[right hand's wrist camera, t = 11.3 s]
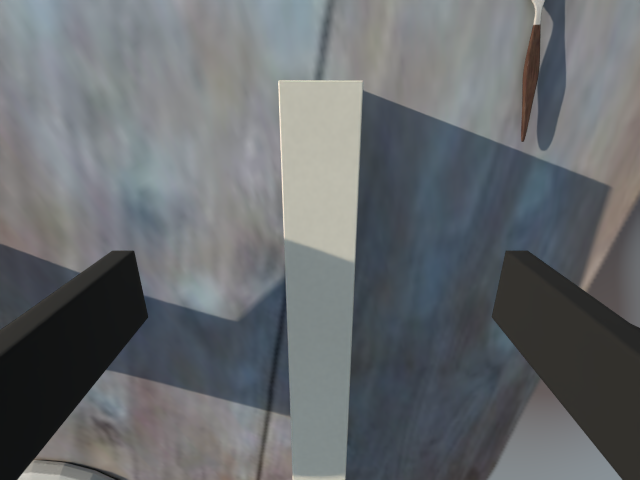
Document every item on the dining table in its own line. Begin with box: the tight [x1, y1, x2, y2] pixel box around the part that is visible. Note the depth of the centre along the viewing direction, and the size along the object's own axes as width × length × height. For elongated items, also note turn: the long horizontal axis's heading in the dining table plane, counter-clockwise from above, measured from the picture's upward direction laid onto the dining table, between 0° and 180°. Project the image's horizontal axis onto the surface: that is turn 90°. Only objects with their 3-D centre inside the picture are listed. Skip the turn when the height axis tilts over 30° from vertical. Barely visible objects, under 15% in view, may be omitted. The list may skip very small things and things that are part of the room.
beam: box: [278, 80, 363, 480], centre depth 36 cm, size 54×6×8 cm, turn 0°
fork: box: [521, 0, 545, 142], centre depth 28 cm, size 3×16×2 cm, turn 5°
